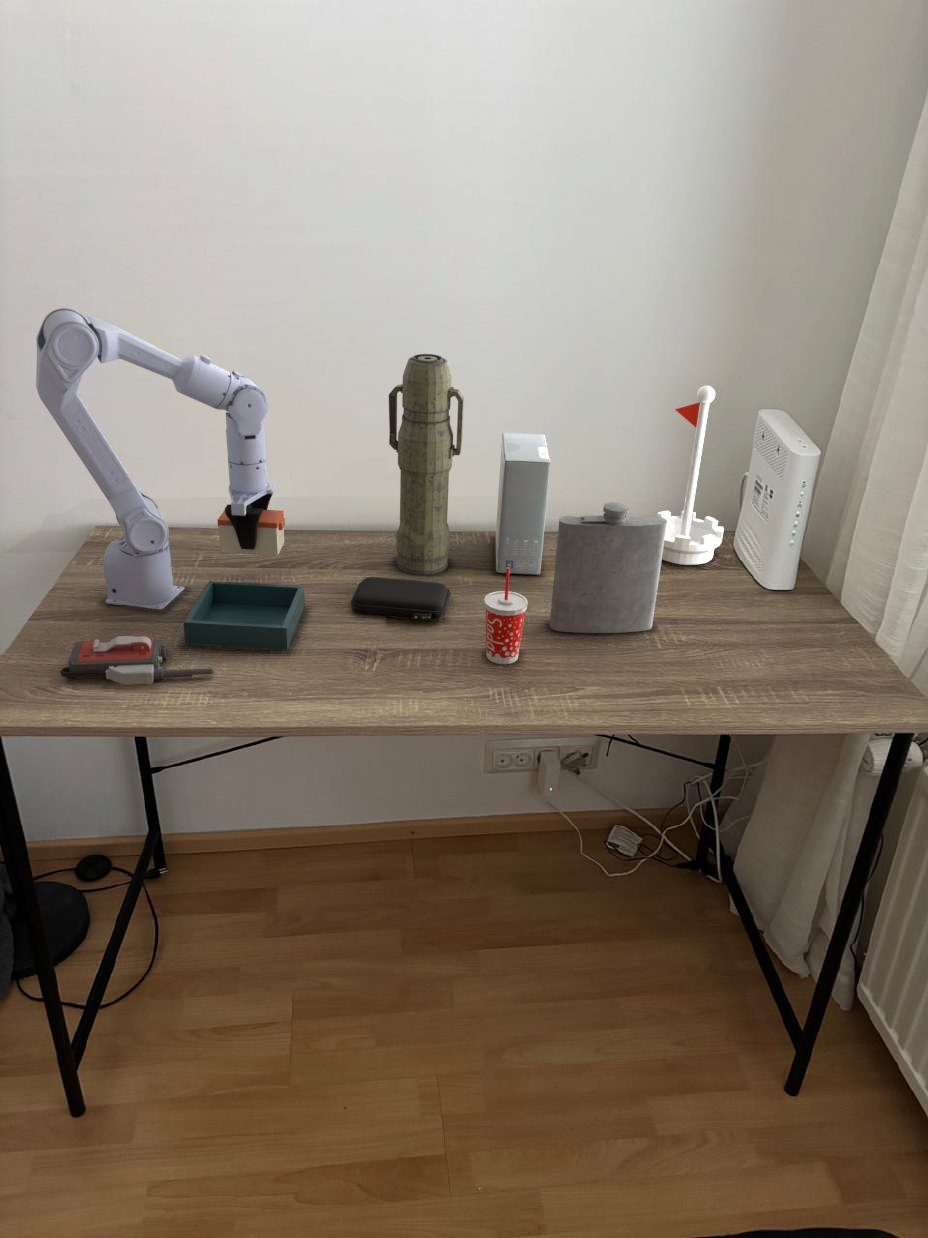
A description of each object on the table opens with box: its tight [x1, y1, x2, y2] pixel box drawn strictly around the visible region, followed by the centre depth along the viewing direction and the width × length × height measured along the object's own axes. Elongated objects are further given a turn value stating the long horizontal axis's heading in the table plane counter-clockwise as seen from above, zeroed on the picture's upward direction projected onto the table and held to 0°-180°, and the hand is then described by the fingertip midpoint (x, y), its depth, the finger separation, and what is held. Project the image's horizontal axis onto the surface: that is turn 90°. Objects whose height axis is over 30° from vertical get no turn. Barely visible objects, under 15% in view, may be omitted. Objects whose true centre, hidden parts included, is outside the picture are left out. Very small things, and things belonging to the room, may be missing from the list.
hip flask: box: [549, 501, 667, 634], centre depth 152 cm, size 16×4×20 cm, turn 95°
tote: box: [183, 580, 306, 651], centre depth 151 cm, size 15×14×4 cm
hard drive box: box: [495, 432, 552, 576], centre depth 174 cm, size 16×8×20 cm, turn 179°
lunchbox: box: [216, 509, 286, 557], centre depth 161 cm, size 10×5×6 cm, turn 87°
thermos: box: [388, 353, 465, 576], centre depth 166 cm, size 9×12×35 cm
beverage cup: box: [483, 567, 529, 665], centre depth 144 cm, size 6×6×14 cm
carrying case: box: [350, 576, 452, 621], centre depth 158 cm, size 11×3×15 cm
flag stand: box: [656, 385, 724, 566], centre depth 176 cm, size 13×13×30 cm
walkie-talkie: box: [60, 635, 215, 685], centre depth 139 cm, size 9×4×20 cm
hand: (252, 541), depth 162 cm, fingers closed on lunchbox, 5 cm apart
